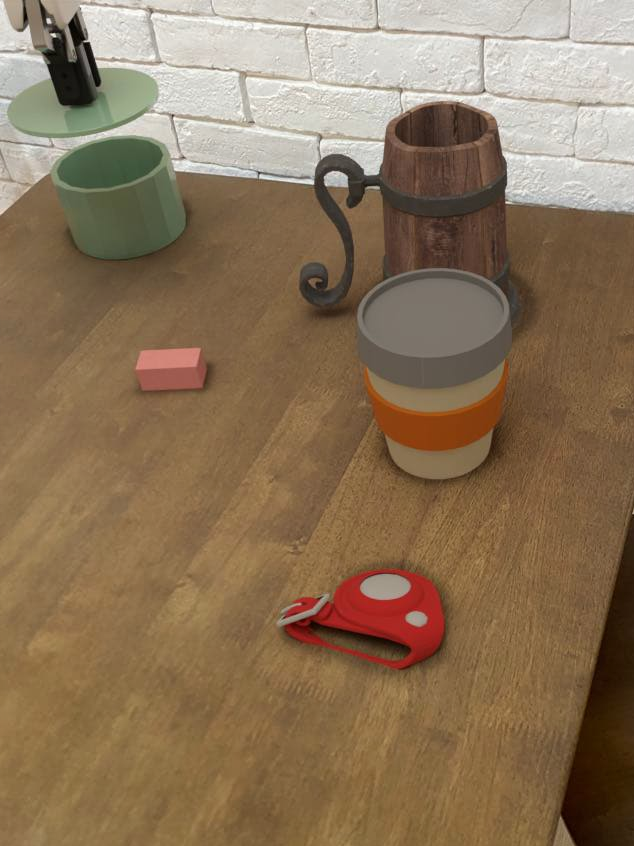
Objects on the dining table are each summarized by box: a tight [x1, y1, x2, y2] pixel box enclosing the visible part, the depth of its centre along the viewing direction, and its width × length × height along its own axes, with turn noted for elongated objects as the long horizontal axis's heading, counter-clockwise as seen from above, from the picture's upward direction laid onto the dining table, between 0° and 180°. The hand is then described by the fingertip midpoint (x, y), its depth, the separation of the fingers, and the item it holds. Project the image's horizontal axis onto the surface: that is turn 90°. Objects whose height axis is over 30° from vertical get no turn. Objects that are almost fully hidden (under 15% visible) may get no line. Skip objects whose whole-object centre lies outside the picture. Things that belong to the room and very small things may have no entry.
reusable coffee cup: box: [356, 268, 513, 480], centre depth 79 cm, size 13×13×15 cm
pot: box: [49, 134, 187, 261], centre depth 111 cm, size 14×14×8 cm
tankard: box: [298, 100, 522, 329], centre depth 91 cm, size 24×17×20 cm
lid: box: [6, 38, 160, 139], centre depth 90 cm, size 15×15×6 cm
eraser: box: [134, 347, 208, 392], centre depth 92 cm, size 6×3×4 cm, turn 90°
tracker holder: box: [275, 568, 445, 670], centre depth 70 cm, size 12×4×10 cm
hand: (81, 93), depth 91 cm, fingers closed on lid, 3 cm apart
